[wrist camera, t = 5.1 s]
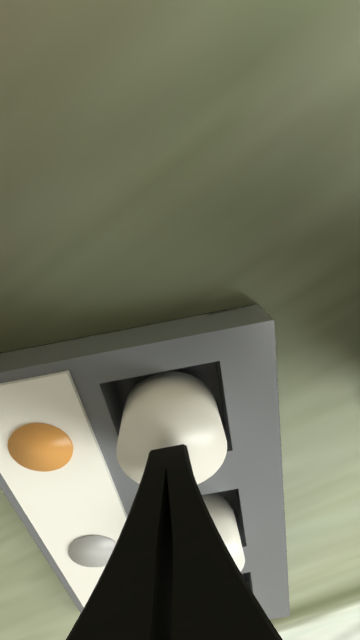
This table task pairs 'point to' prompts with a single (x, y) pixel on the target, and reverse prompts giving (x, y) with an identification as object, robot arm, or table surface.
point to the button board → (103, 430)
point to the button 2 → (226, 525)
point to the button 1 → (171, 424)
